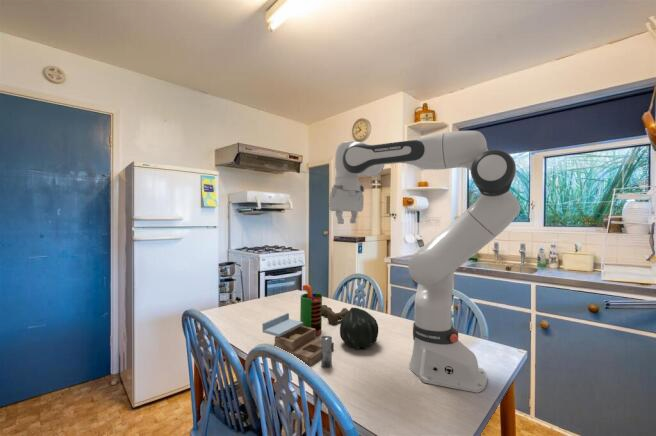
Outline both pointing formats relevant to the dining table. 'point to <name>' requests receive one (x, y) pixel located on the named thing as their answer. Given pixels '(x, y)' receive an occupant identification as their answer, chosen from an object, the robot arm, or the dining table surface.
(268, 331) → the lid
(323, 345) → the jaw peg
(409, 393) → the dining table surface
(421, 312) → the robot arm
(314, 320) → the motor
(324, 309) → the brown rope toy
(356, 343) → the squash
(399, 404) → the dining table surface
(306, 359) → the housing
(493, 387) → the dining table surface
